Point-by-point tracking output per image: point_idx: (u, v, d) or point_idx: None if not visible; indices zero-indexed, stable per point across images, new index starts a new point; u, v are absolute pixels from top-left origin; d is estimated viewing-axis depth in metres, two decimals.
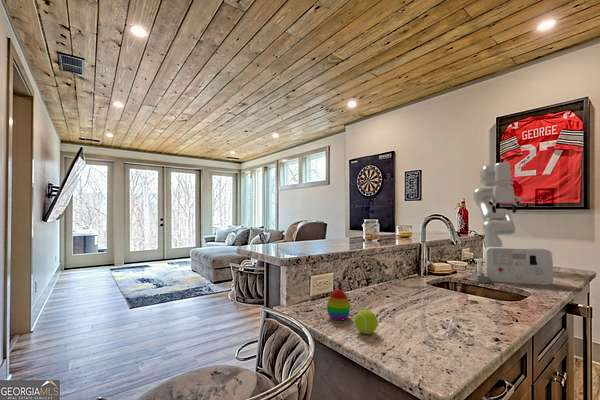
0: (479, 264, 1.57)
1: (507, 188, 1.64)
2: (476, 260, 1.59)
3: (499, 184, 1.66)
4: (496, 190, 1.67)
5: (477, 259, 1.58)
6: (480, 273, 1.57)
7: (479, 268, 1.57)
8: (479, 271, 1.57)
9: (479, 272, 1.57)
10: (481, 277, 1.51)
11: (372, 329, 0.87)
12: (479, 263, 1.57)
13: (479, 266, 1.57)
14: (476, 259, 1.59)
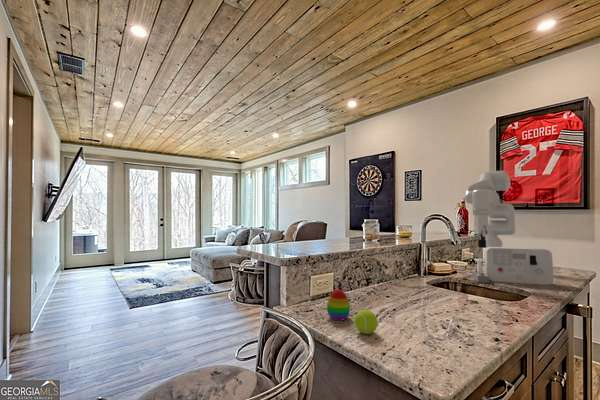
0: (479, 264, 1.57)
1: None
2: (476, 260, 1.59)
3: (488, 213, 1.48)
4: (487, 220, 1.47)
5: (477, 259, 1.58)
6: (480, 273, 1.57)
7: (479, 268, 1.57)
8: (479, 271, 1.57)
9: (479, 272, 1.57)
10: (481, 277, 1.51)
11: (372, 329, 0.87)
12: (479, 263, 1.57)
13: (479, 266, 1.57)
14: (476, 259, 1.59)
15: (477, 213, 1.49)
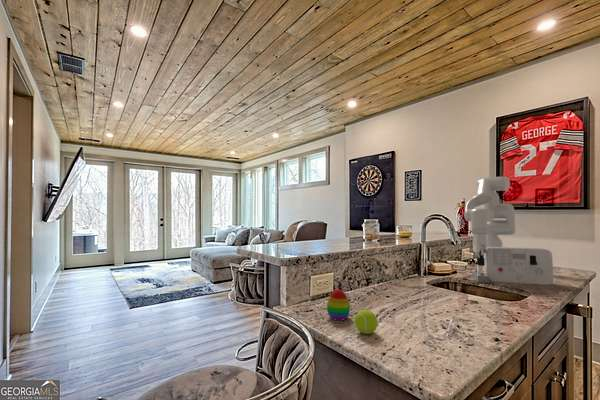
0: None
1: None
2: (476, 260, 1.59)
3: (486, 233, 1.52)
4: (486, 239, 1.51)
5: None
6: (480, 273, 1.57)
7: (479, 268, 1.57)
8: (479, 271, 1.57)
9: (479, 272, 1.57)
10: (481, 277, 1.51)
11: (372, 329, 0.87)
12: None
13: (479, 266, 1.57)
14: (476, 259, 1.59)
15: (476, 232, 1.54)
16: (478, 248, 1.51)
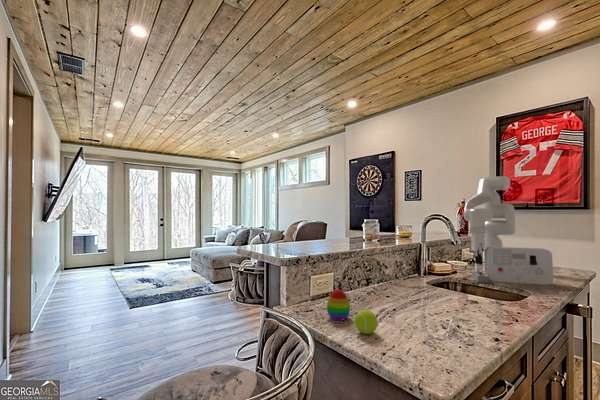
0: None
1: None
2: (474, 259, 1.63)
3: (484, 232, 1.56)
4: None
5: None
6: (478, 271, 1.61)
7: (477, 266, 1.61)
8: (477, 269, 1.61)
9: (477, 270, 1.61)
10: (481, 277, 1.51)
11: (372, 329, 0.87)
12: None
13: (477, 265, 1.61)
14: (474, 258, 1.63)
15: (474, 231, 1.58)
16: (476, 247, 1.55)
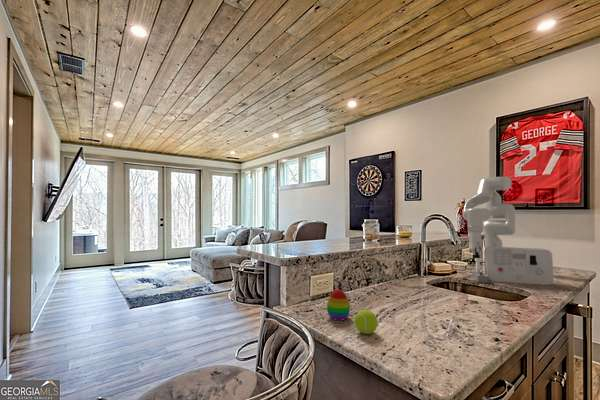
0: (478, 263, 1.60)
1: None
2: (475, 259, 1.62)
3: (481, 231, 1.61)
4: None
5: (476, 258, 1.61)
6: (479, 272, 1.60)
7: (478, 267, 1.60)
8: (478, 270, 1.60)
9: (478, 271, 1.60)
10: (481, 277, 1.51)
11: (372, 329, 0.87)
12: (478, 262, 1.60)
13: (478, 265, 1.60)
14: (475, 258, 1.62)
15: (471, 230, 1.63)
16: (473, 245, 1.60)
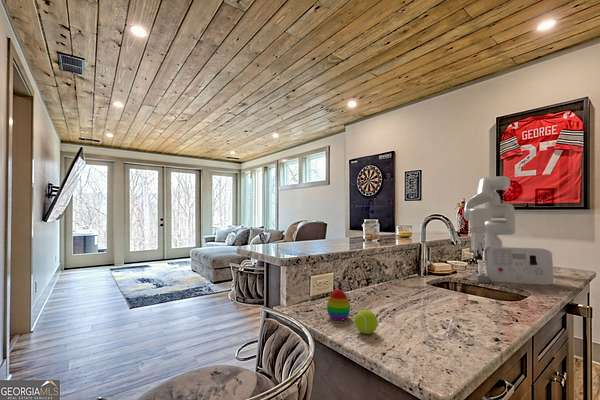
0: (480, 265, 1.55)
1: None
2: (477, 261, 1.56)
3: (484, 231, 1.56)
4: (483, 238, 1.55)
5: (478, 260, 1.56)
6: (481, 274, 1.54)
7: (480, 269, 1.55)
8: (480, 272, 1.54)
9: (480, 273, 1.54)
10: (481, 277, 1.51)
11: (372, 329, 0.87)
12: (480, 264, 1.55)
13: (480, 267, 1.55)
14: (477, 260, 1.56)
15: (474, 231, 1.58)
16: (476, 246, 1.55)
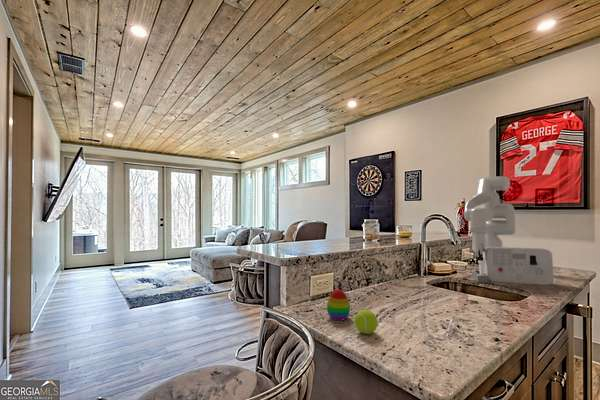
0: (481, 266, 1.52)
1: None
2: (478, 261, 1.54)
3: (485, 232, 1.54)
4: (485, 238, 1.53)
5: None
6: (482, 275, 1.52)
7: (481, 270, 1.52)
8: (481, 273, 1.52)
9: (481, 274, 1.52)
10: (481, 277, 1.51)
11: (372, 329, 0.87)
12: (481, 265, 1.52)
13: (481, 268, 1.52)
14: (478, 260, 1.54)
15: (475, 231, 1.55)
16: (477, 247, 1.53)
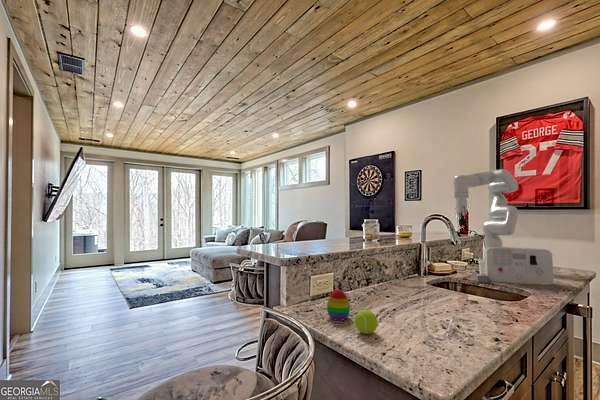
0: (481, 266, 1.52)
1: None
2: (478, 261, 1.54)
3: (467, 196, 1.70)
4: (466, 201, 1.69)
5: None
6: (482, 275, 1.52)
7: (481, 270, 1.52)
8: (481, 273, 1.52)
9: (481, 274, 1.52)
10: (481, 277, 1.51)
11: (372, 329, 0.87)
12: (481, 265, 1.52)
13: (481, 268, 1.52)
14: (478, 260, 1.54)
15: (458, 196, 1.72)
16: (459, 209, 1.69)
